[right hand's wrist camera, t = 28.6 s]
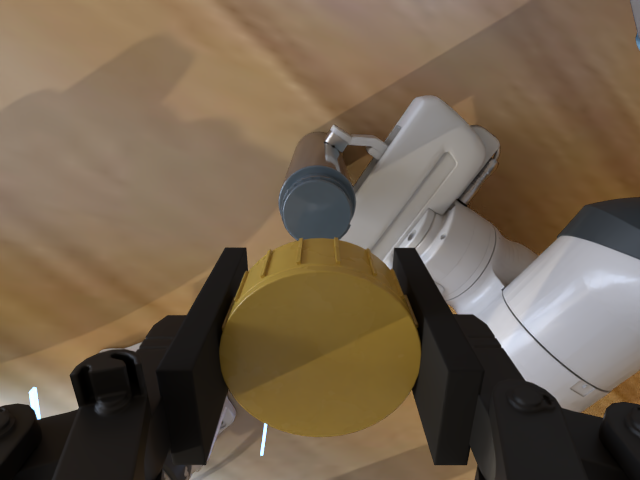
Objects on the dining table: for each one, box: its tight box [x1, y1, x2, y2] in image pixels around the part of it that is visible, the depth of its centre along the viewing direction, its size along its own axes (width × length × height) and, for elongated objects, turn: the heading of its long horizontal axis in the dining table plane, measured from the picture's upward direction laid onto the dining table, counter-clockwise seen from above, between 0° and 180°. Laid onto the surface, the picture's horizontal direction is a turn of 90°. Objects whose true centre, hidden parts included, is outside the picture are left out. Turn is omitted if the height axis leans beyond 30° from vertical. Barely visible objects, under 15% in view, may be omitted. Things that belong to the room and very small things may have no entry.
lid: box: [219, 237, 421, 437], centre depth 12 cm, size 6×6×2 cm
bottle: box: [279, 132, 356, 241], centre depth 31 cm, size 5×5×19 cm
